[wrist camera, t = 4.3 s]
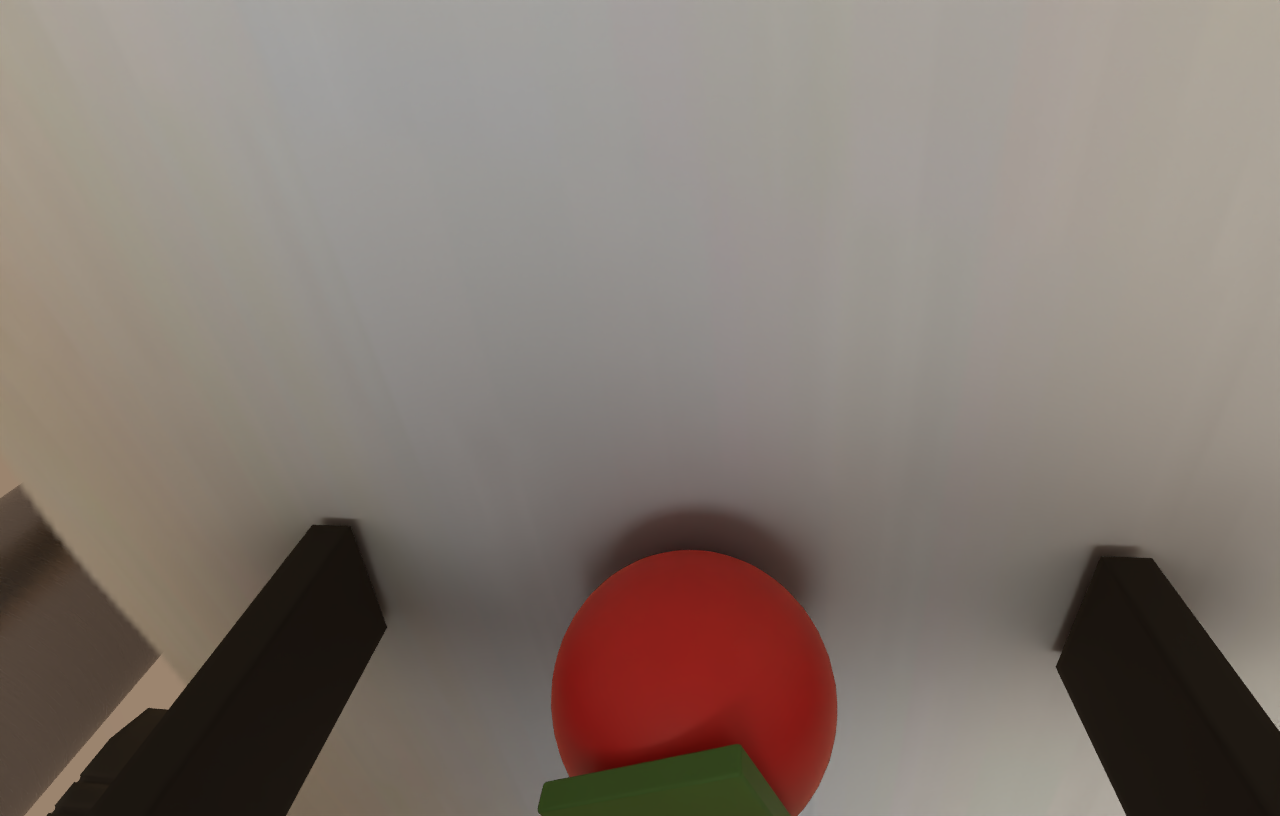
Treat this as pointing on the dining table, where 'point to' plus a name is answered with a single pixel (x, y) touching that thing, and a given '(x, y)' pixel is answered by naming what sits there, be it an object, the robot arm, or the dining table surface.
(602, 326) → the dining table surface
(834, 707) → the strawberry
